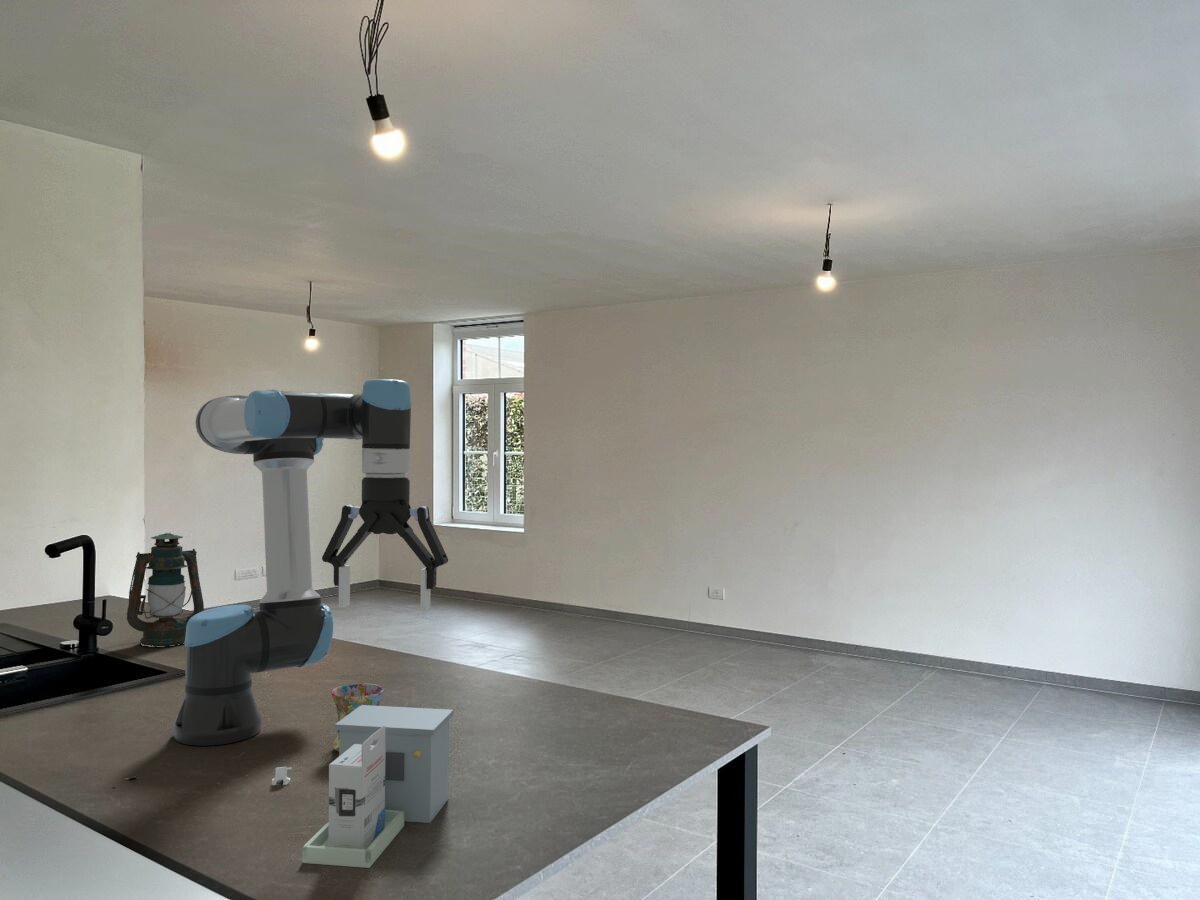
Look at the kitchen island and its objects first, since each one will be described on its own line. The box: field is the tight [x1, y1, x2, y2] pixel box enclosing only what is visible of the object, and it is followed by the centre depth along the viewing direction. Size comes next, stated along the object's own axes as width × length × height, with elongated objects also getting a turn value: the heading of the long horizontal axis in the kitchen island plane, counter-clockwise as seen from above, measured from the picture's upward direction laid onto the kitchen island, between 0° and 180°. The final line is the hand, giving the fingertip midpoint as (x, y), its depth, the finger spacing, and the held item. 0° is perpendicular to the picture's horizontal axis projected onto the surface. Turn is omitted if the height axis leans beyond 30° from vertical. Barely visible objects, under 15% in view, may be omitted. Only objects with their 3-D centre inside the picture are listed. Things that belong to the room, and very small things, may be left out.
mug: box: [330, 683, 385, 752], centre depth 164 cm, size 12×9×11 cm
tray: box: [301, 810, 405, 869], centre depth 125 cm, size 9×13×2 cm
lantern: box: [126, 532, 205, 646], centre depth 246 cm, size 19×14×30 cm
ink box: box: [328, 726, 386, 849], centre depth 124 cm, size 9×5×15 cm, turn 172°
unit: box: [334, 705, 454, 824], centre depth 137 cm, size 15×10×14 cm, turn 83°
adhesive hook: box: [271, 766, 292, 786], centre depth 146 cm, size 3×3×3 cm
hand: (384, 608), depth 145 cm, fingers open, 13 cm apart
